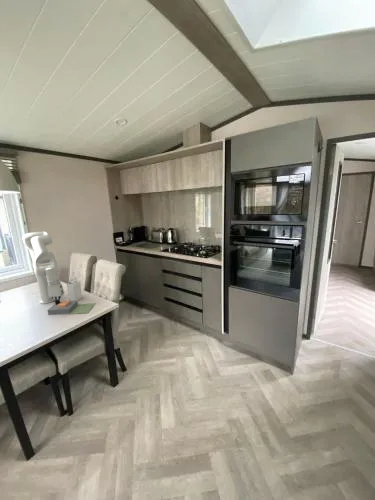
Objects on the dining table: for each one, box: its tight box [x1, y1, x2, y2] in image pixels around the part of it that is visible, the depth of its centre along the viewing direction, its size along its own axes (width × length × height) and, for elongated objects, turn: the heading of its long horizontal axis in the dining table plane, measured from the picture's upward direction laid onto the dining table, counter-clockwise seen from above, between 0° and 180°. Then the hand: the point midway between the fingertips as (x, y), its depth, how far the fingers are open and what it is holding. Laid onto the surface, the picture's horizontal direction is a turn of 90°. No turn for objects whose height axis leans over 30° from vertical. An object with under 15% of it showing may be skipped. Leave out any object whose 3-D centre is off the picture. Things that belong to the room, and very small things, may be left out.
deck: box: [46, 300, 79, 316], centre depth 172 cm, size 14×16×4 cm
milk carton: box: [66, 277, 83, 302], centre depth 188 cm, size 7×7×19 cm
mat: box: [68, 302, 96, 315], centre depth 172 cm, size 16×14×1 cm
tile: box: [57, 299, 71, 308], centre depth 171 cm, size 8×6×2 cm
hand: (58, 304), depth 171 cm, fingers closed
